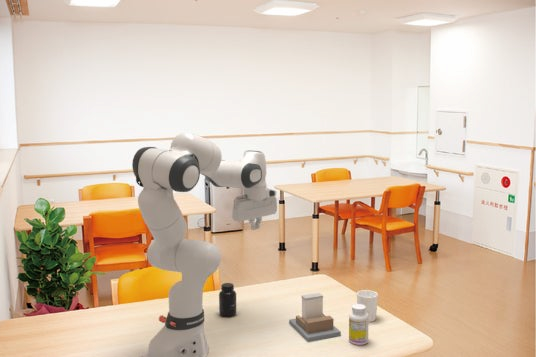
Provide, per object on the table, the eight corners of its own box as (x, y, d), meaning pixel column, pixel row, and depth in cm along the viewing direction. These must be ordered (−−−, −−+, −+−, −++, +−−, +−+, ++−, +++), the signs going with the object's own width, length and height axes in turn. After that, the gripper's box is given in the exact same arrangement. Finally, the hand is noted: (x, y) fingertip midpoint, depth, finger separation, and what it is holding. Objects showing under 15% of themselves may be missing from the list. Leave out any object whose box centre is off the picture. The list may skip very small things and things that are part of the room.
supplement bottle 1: (236, 317, 208) (235, 287, 206) (218, 317, 208) (217, 288, 206) (237, 310, 215) (236, 281, 213) (220, 310, 215) (219, 281, 213)
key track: (340, 335, 191) (340, 321, 191) (307, 341, 187) (307, 327, 186) (320, 318, 207) (320, 304, 206) (289, 323, 202) (289, 309, 201)
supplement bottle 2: (355, 335, 192) (355, 301, 190) (371, 340, 187) (372, 305, 185) (345, 342, 186) (345, 307, 184) (362, 347, 182) (362, 311, 180)
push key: (323, 323, 198) (323, 295, 196) (305, 326, 195) (305, 298, 194) (319, 319, 201) (319, 292, 199) (301, 322, 198) (301, 295, 197)
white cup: (353, 320, 204) (354, 295, 203) (360, 313, 211) (360, 288, 209) (373, 324, 200) (374, 298, 199) (379, 316, 207) (380, 291, 206)
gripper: (239, 198, 192) (240, 235, 194) (279, 190, 206) (279, 225, 208) (228, 196, 196) (229, 232, 198) (267, 188, 210) (268, 223, 212)
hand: (255, 229), depth 203 cm, fingers closed
